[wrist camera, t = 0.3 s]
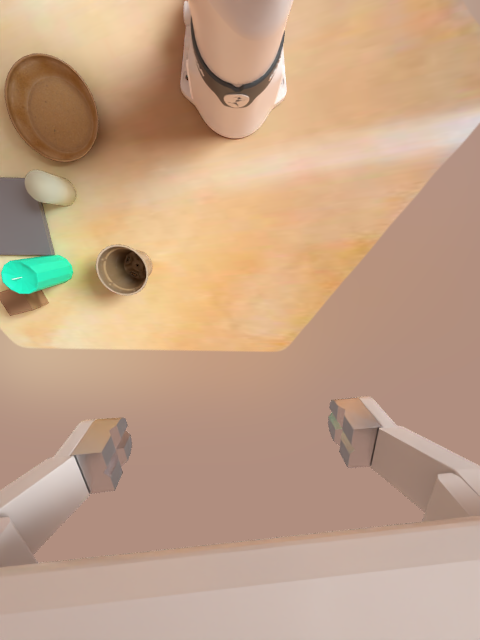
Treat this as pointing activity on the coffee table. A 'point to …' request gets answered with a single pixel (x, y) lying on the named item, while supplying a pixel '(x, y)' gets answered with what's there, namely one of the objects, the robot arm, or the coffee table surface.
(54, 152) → the plant saucer
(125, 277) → the flower pot
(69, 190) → the white rounded capsule
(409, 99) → the coffee table surface
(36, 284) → the candle
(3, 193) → the coaster
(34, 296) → the walnut cube
